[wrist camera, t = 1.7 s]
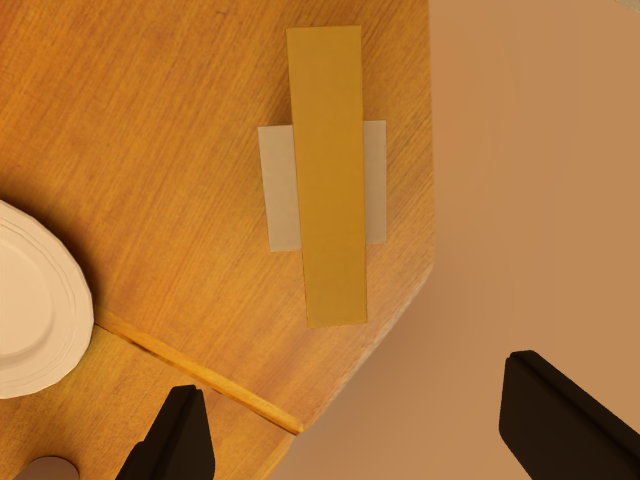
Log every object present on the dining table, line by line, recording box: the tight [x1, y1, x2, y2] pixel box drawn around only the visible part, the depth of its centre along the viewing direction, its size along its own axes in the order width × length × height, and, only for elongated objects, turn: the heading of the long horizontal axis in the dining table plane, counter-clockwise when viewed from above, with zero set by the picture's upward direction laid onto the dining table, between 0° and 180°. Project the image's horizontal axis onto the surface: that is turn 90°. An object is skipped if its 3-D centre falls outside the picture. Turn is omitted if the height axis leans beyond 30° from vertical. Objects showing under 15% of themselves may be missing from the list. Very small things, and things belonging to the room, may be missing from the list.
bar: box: [285, 25, 367, 328], centre depth 16 cm, size 14×3×3 cm, turn 3°
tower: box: [257, 120, 387, 252], centre depth 23 cm, size 8×8×12 cm
